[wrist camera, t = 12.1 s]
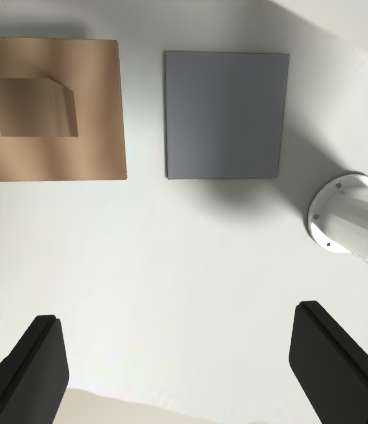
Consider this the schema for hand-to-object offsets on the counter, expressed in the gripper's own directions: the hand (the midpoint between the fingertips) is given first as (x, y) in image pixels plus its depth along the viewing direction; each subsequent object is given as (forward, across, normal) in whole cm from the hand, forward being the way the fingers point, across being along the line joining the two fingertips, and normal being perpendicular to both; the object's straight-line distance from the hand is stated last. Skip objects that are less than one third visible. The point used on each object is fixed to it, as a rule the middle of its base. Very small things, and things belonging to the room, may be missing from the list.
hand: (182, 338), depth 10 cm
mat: (+28, -8, -10) cm, 31 cm away
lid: (+22, +12, -10) cm, 27 cm away
